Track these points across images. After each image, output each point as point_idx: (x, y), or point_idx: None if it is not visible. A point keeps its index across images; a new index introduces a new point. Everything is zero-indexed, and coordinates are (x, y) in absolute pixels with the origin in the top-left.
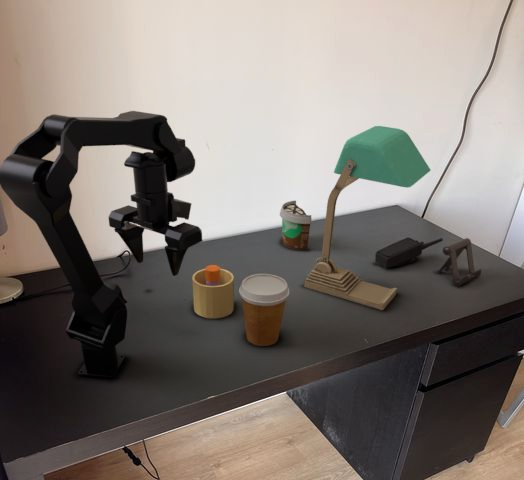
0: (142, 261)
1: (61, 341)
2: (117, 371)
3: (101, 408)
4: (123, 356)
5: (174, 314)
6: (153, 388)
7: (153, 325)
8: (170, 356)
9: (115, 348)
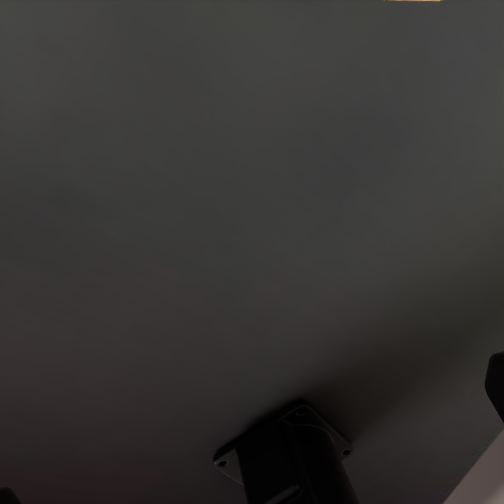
0: (9, 492)
1: (64, 499)
2: (339, 432)
3: (405, 482)
4: (304, 407)
5: (181, 88)
6: (462, 387)
7: (196, 233)
8: (411, 291)
9: (344, 483)
